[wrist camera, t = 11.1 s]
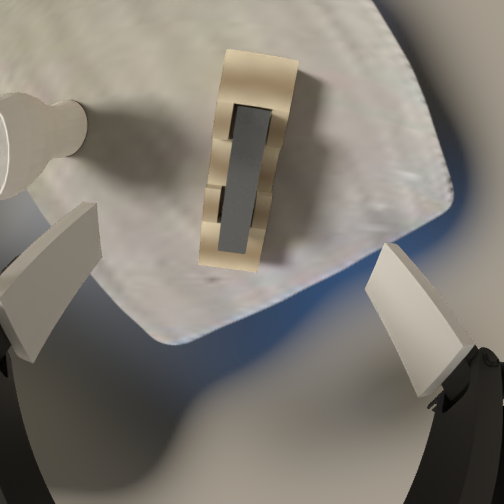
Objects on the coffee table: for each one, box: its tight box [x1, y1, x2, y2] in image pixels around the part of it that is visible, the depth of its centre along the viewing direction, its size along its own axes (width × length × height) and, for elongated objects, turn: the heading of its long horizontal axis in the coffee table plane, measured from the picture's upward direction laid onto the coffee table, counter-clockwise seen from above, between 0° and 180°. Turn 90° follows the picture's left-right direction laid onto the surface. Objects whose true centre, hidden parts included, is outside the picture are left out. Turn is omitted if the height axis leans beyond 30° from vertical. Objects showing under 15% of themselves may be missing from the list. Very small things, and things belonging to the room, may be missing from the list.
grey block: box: [218, 106, 271, 254], centre depth 26 cm, size 13×3×8 cm, turn 171°
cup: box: [0, 92, 87, 200], centre depth 19 cm, size 11×11×15 cm
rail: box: [199, 49, 299, 272], centre depth 28 cm, size 24×7×4 cm, turn 171°
